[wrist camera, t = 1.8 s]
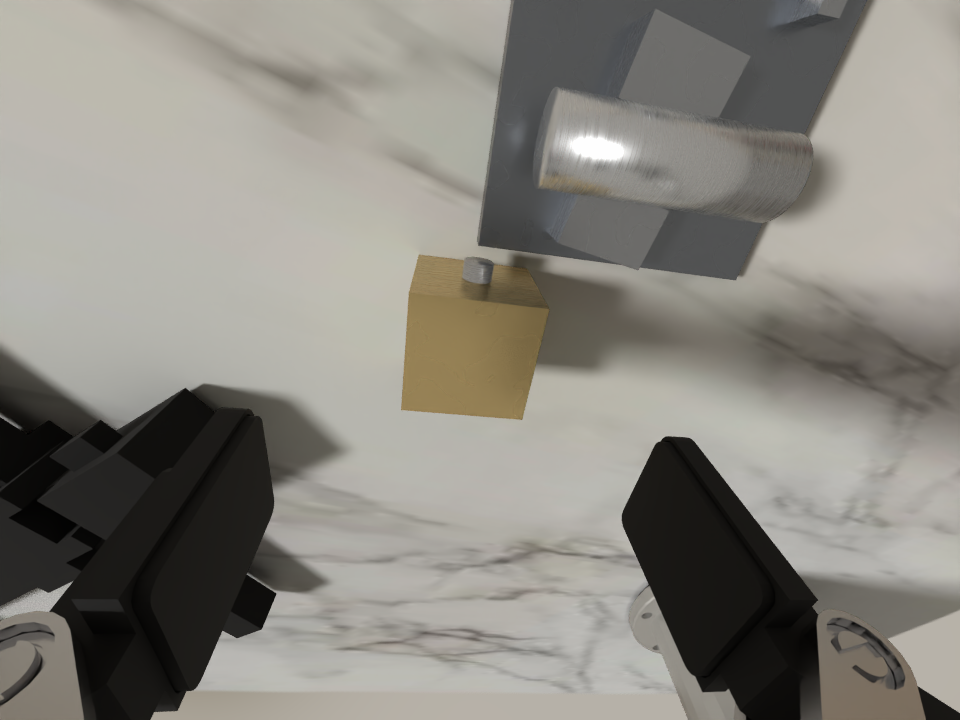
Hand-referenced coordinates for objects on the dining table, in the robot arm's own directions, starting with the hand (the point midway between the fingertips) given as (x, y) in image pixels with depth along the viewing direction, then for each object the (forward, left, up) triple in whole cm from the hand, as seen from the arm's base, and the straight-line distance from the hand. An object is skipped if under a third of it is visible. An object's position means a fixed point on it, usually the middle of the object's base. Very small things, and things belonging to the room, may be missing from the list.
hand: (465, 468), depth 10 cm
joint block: (0, +1, -11) cm, 11 cm away
